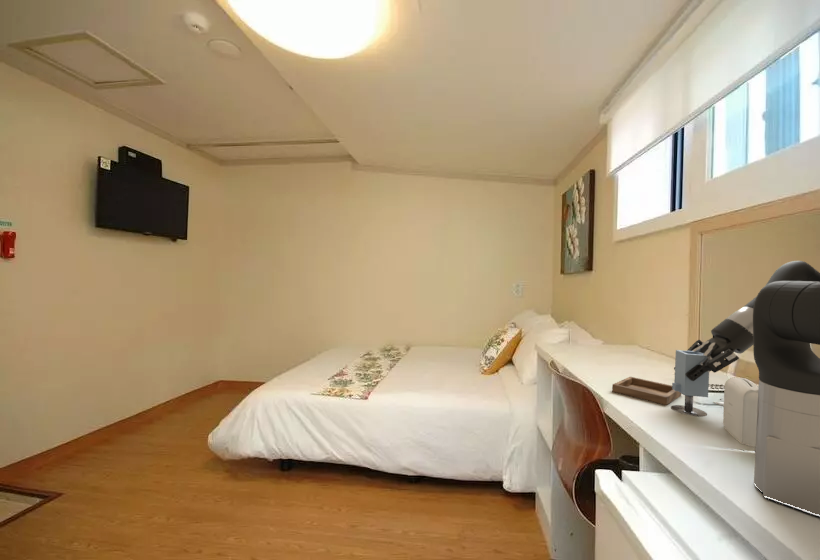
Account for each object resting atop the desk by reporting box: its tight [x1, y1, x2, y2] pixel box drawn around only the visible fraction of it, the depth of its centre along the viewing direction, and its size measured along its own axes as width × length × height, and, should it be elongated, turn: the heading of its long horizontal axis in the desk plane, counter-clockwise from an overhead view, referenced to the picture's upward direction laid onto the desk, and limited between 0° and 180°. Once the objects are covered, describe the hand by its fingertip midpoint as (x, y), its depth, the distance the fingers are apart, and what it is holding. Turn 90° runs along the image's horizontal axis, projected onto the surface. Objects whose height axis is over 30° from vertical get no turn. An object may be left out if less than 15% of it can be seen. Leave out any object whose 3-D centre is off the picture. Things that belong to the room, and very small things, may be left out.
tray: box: [612, 376, 682, 407], centre depth 102 cm, size 13×13×2 cm
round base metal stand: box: [670, 395, 708, 417], centre depth 90 cm, size 7×7×6 cm
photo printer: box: [722, 376, 759, 448], centre depth 76 cm, size 10×4×12 cm, turn 157°
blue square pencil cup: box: [671, 349, 710, 398], centre depth 90 cm, size 5×6×10 cm
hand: (682, 374), depth 90 cm, fingers closed on blue square pencil cup, 5 cm apart
